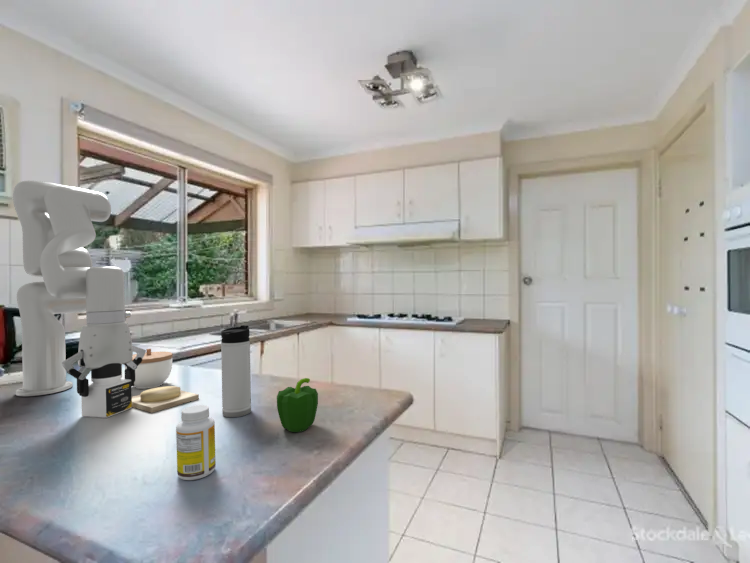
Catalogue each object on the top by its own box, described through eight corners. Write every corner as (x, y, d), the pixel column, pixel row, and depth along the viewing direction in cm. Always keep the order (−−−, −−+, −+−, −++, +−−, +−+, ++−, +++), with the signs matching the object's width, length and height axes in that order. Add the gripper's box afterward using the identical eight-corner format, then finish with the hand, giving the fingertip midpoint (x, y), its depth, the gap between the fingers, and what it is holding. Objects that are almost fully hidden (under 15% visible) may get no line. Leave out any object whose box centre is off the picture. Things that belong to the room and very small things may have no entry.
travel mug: (257, 410, 91) (256, 325, 91) (237, 419, 85) (235, 329, 85) (237, 406, 94) (236, 324, 94) (216, 415, 88) (214, 328, 88)
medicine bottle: (106, 418, 87) (105, 365, 87) (80, 416, 88) (80, 364, 88) (132, 408, 94) (131, 359, 94) (108, 406, 95) (107, 358, 95)
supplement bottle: (205, 461, 65) (204, 401, 65) (222, 471, 61) (221, 407, 61) (170, 474, 61) (169, 409, 61) (186, 486, 57) (185, 417, 57)
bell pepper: (275, 438, 74) (275, 386, 74) (278, 422, 82) (277, 376, 82) (319, 433, 76) (318, 383, 76) (317, 419, 84) (316, 373, 84)
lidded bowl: (145, 379, 122) (145, 345, 122) (182, 380, 120) (181, 345, 120) (113, 391, 110) (112, 352, 110) (153, 392, 108) (152, 352, 108)
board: (122, 403, 98) (122, 393, 98) (168, 391, 108) (168, 382, 108) (151, 412, 90) (151, 401, 90) (198, 399, 100) (198, 388, 100)
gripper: (136, 315, 101) (137, 380, 101) (54, 321, 86) (56, 398, 86) (151, 316, 97) (153, 383, 97) (69, 322, 82) (70, 403, 82)
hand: (107, 390), depth 91 cm, fingers open, 9 cm apart
